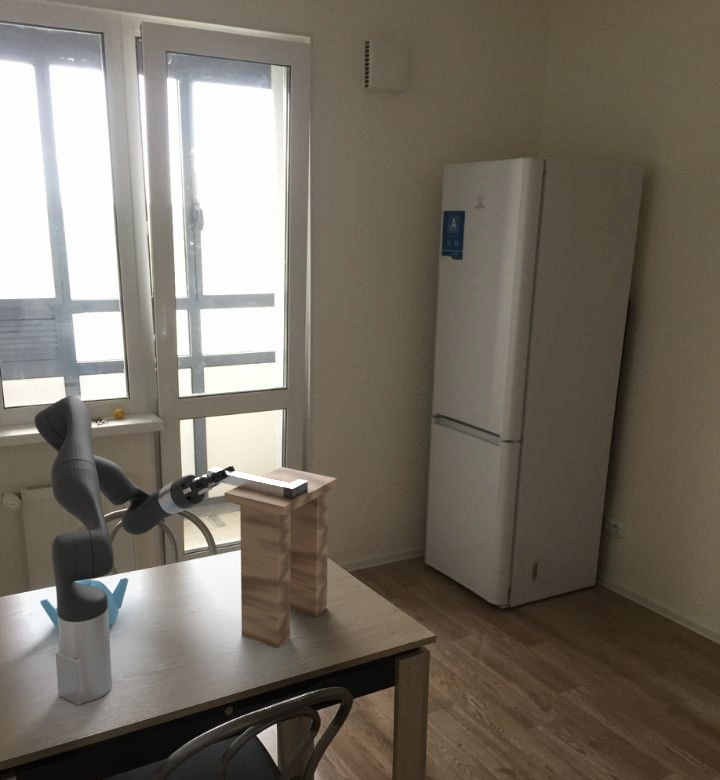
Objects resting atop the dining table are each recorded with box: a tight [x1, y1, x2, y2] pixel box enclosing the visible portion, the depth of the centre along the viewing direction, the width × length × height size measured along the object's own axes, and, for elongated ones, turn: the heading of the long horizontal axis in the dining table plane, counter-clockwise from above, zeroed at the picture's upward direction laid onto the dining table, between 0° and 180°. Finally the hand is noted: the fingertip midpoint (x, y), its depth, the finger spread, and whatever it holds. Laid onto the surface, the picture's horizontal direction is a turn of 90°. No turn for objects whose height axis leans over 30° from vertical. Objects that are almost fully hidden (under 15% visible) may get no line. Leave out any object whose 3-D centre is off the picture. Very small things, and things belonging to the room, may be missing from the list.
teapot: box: [39, 577, 129, 629], centre depth 165 cm, size 15×15×11 cm
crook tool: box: [206, 466, 308, 499], centre depth 162 cm, size 6×24×2 cm, turn 61°
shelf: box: [224, 466, 338, 649], centre depth 166 cm, size 22×16×34 cm
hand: (229, 471), depth 163 cm, fingers closed on crook tool, 2 cm apart
